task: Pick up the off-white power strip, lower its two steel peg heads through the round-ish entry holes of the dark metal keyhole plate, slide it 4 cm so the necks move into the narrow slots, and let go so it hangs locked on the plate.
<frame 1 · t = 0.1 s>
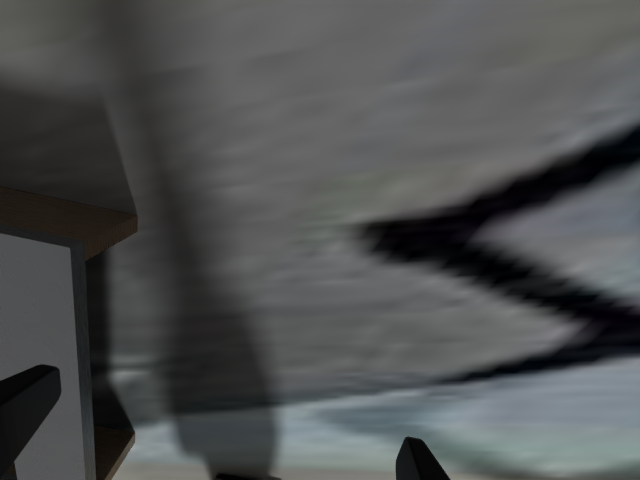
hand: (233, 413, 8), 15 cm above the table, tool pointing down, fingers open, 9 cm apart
keyhole board: (48, 327, 26), on the table
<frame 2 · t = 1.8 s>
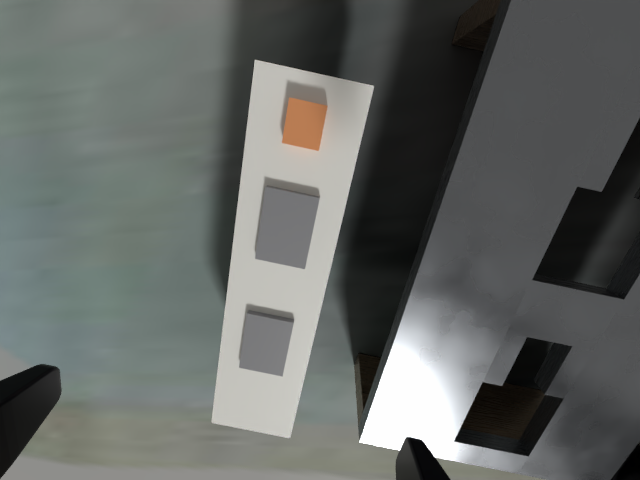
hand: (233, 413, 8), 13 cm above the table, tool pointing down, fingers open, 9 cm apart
power strip: (293, 241, 21), on the table
keyhole board: (508, 248, 20), on the table
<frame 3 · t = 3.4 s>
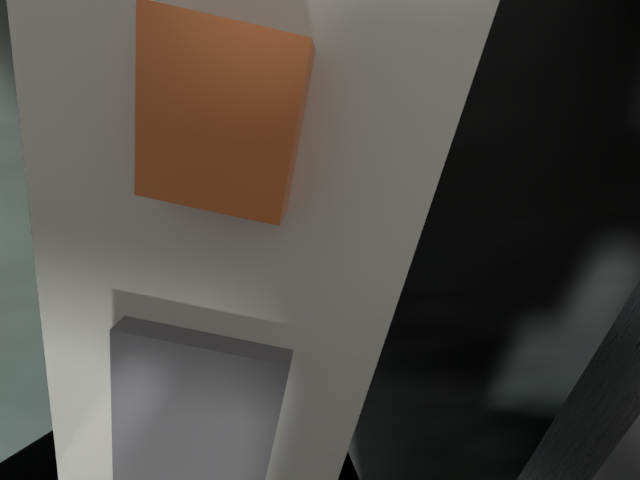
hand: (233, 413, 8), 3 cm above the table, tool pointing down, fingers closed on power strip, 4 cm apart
power strip: (261, 332, 12), on the table, touching gripper
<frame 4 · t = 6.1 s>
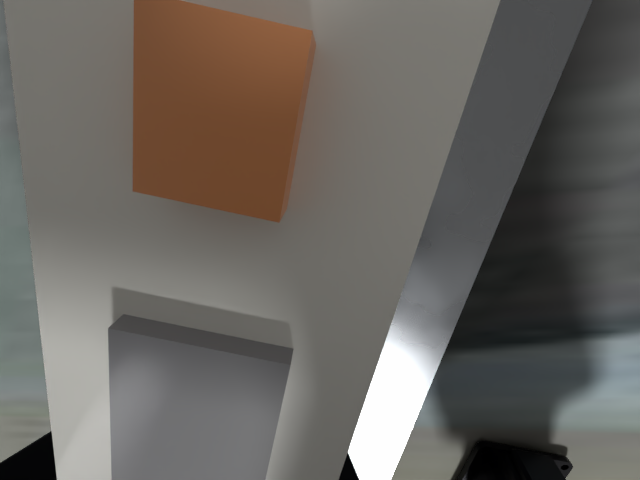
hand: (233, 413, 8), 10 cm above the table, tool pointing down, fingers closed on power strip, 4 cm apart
power strip: (261, 331, 12), point 7 cm above the table, touching gripper
keyhole board: (296, 212, 17), on the table
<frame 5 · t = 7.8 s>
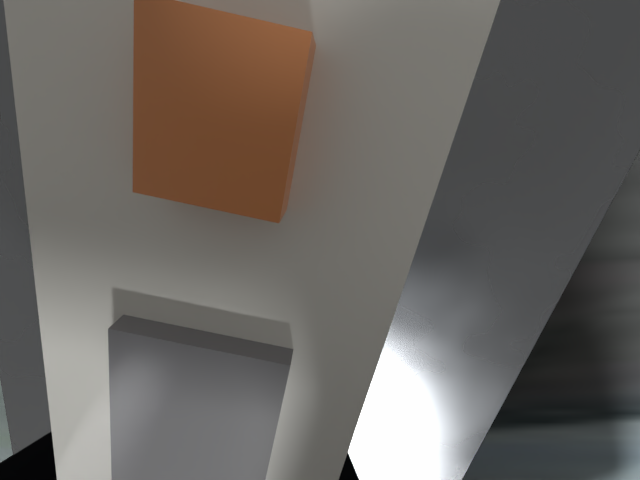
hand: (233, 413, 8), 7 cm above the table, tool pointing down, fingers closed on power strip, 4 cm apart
power strip: (261, 332, 12), point 3 cm above the table, touching gripper
keyhole board: (280, 279, 15), on the table
when the fingers open (6 cm above the table, at t = 9.1 s): power strip stays where it is, resting on keyhole board.
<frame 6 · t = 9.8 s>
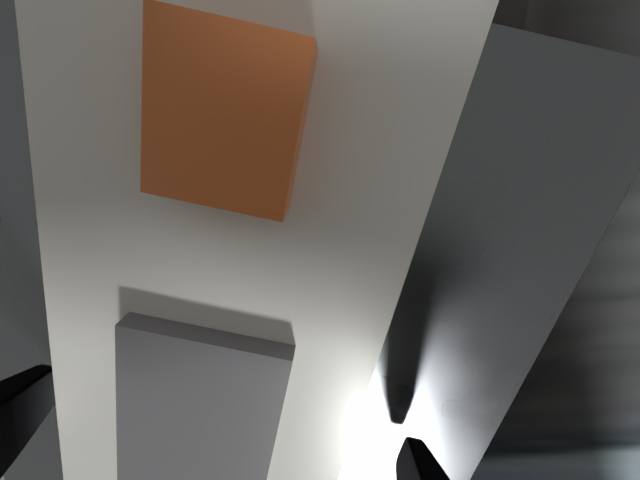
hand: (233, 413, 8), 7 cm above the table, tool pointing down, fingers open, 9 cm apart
power strip: (262, 330, 12), point 3 cm above the table, touching keyhole board
keyhole board: (271, 317, 15), on the table
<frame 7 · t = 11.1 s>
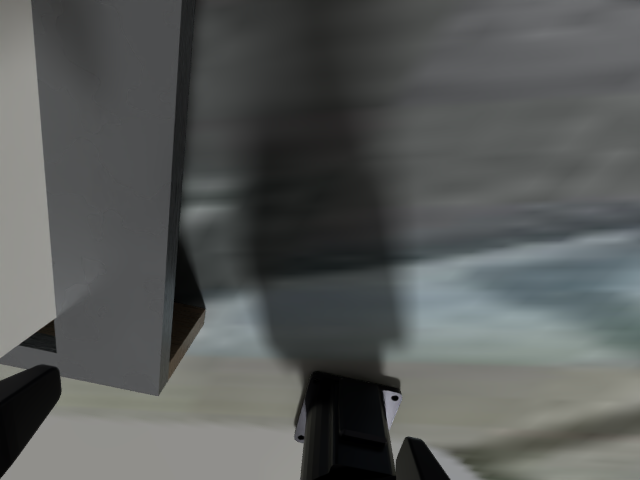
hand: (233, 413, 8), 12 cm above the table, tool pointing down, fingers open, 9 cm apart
power strip: (46, 96, 14), point 3 cm above the table, touching keyhole board
keyhole board: (94, 129, 18), on the table
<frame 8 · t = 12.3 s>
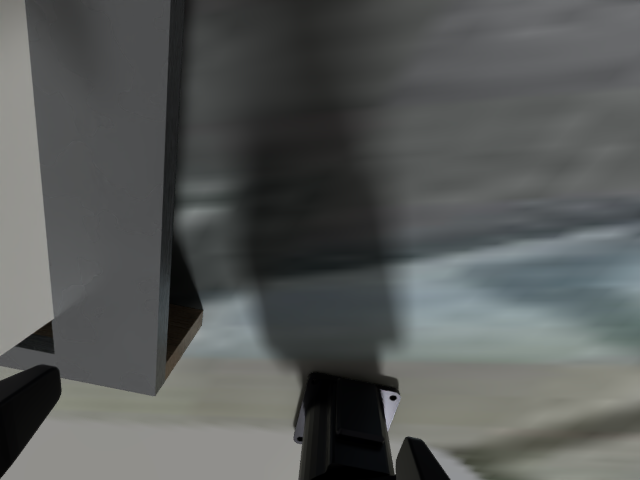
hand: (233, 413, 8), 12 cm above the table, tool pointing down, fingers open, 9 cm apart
power strip: (43, 102, 15), point 3 cm above the table, touching keyhole board
keyhole board: (91, 134, 18), on the table
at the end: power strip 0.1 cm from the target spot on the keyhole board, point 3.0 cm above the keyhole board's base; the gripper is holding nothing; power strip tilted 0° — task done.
